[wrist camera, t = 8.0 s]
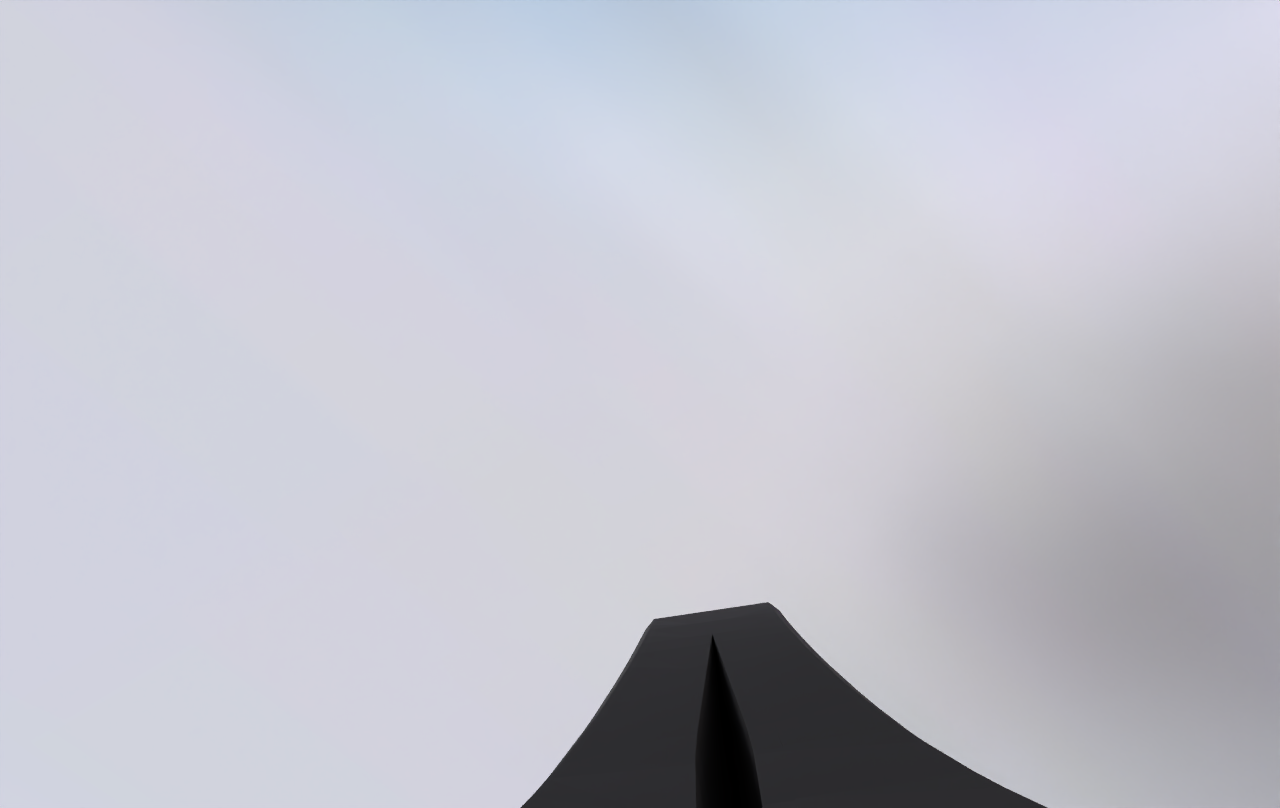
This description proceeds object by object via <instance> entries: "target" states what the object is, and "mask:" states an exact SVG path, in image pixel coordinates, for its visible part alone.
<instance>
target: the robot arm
mask: <svg viewBox="0 0 1280 808" xmlns="http://www.w3.org/2000/svg"><path fill="white" fill-rule="evenodd" d="M521 808H1047V807H1045V806H1043V805H1041V804H1038V803H1036V802H1034V801H1032V800H1030V799H1028V798H1026V797H1023V796H1021V795H1019V794H1017V793H1015V792H1013V791H1011V790H1009V789H1006V788H1004V787H1002V786H1001V785H999V784H997V783H995V782H993V781H991V780H989V779H987V778H985V777H983V776H982V775H980V774H978V773H976V772H974V771H972V770H971V769H969V768H967V767H966V766H964V765H962V764H961V763H959V762H957V761H956V760H954V759H952V758H951V757H949V756H947V755H946V754H944V753H942V752H941V751H939V750H937V749H936V748H934V747H932V746H931V745H929V744H927V743H926V742H924V741H923V740H921V739H920V738H918V737H917V736H915V735H914V734H912V733H911V732H909V731H908V730H907V729H905V728H904V727H903V726H901V725H900V724H899V723H898V722H896V721H895V720H894V719H892V718H891V717H890V716H888V715H887V714H886V713H884V712H883V711H882V710H880V709H879V708H878V707H877V706H875V705H874V704H873V703H872V702H871V701H869V700H868V699H867V698H866V697H865V696H863V695H862V694H861V693H860V692H859V691H857V690H856V689H855V688H854V687H853V686H852V685H851V684H850V683H849V682H847V681H846V680H845V679H844V678H843V677H842V676H841V675H840V674H839V673H837V672H836V671H835V670H834V669H833V668H832V667H831V666H830V665H829V664H828V663H827V662H826V661H824V660H823V659H822V658H821V657H820V656H819V655H818V654H817V653H816V652H815V651H814V650H813V649H812V647H811V646H810V645H809V644H808V643H807V642H806V641H805V640H804V639H803V638H802V637H801V636H800V635H799V634H798V633H797V632H796V630H795V629H794V628H793V627H792V626H791V625H790V623H789V622H788V621H787V620H786V618H785V617H784V616H783V615H782V613H781V612H780V611H779V610H778V609H777V608H775V607H774V606H773V605H771V604H770V603H769V602H767V603H760V604H754V605H747V606H740V607H733V608H726V609H720V610H713V611H706V612H699V613H693V614H686V615H679V616H672V617H665V618H659V619H654V620H653V621H652V622H651V624H650V625H649V626H648V627H647V629H646V630H645V632H644V634H643V636H642V638H641V639H640V641H639V643H638V645H637V647H636V649H635V651H634V652H633V654H632V656H631V658H630V660H629V661H628V663H627V665H626V666H625V668H624V670H623V672H622V673H621V675H620V677H619V678H618V680H617V682H616V683H615V685H614V686H613V688H612V689H611V691H610V693H609V694H608V696H607V697H606V699H605V700H604V702H603V703H602V705H601V706H600V708H599V709H598V711H597V713H596V714H595V716H594V717H593V719H592V720H591V722H590V723H589V724H588V726H587V727H586V729H585V730H584V731H583V733H582V734H581V735H580V737H579V738H578V739H577V741H576V742H575V743H574V745H573V746H572V747H571V749H570V750H569V751H568V752H567V754H566V755H565V756H564V758H563V759H562V760H561V762H560V763H559V764H558V766H557V767H556V768H555V770H554V771H553V772H552V773H551V775H550V776H549V777H548V778H547V780H546V781H545V782H544V783H543V784H542V785H541V787H540V788H539V789H538V790H537V791H536V792H535V793H534V794H533V796H532V797H531V798H530V799H529V800H528V801H527V802H526V803H525V804H524V805H523V806H522V807H521Z"/></svg>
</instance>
